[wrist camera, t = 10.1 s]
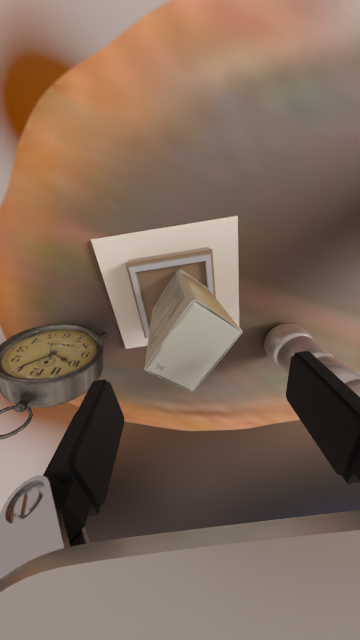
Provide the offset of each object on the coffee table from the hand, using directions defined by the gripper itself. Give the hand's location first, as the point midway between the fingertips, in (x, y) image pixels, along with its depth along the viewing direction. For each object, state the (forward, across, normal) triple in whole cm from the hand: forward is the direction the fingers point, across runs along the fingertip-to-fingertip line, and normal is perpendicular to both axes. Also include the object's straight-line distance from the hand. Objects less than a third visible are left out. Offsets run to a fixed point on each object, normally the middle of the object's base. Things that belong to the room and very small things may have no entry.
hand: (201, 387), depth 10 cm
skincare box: (+16, +1, 0) cm, 16 cm away
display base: (+19, +1, 0) cm, 19 cm away
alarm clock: (+19, +17, +5) cm, 26 cm away
